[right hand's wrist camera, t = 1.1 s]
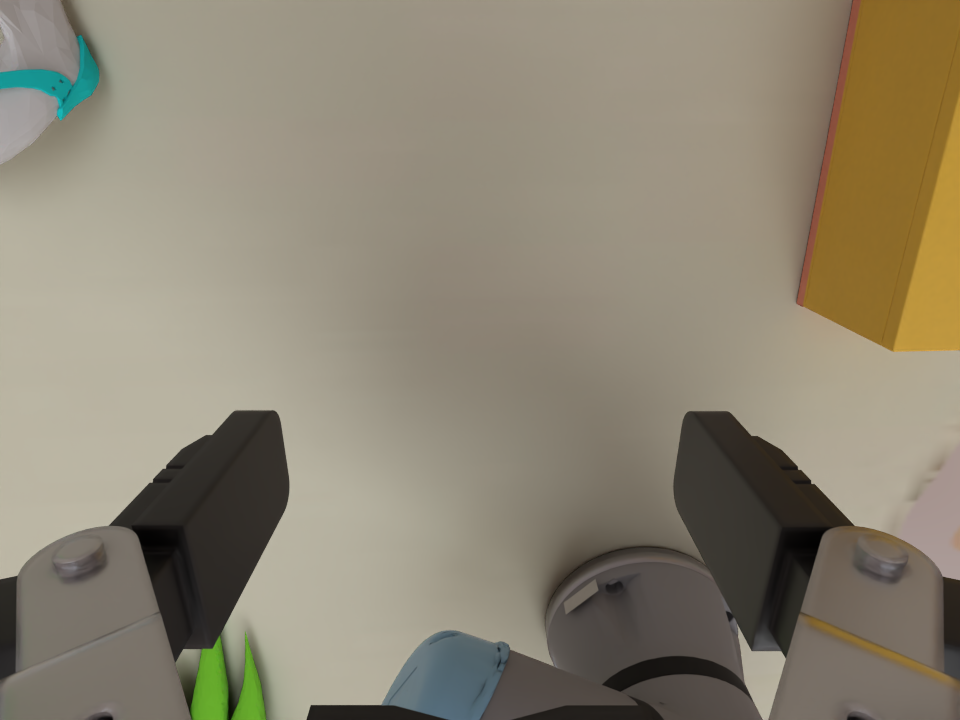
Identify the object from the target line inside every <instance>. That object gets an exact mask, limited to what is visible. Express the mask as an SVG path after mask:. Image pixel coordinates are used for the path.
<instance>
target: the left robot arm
mask: <svg viewBox="0 0 960 720" xmlns="http://www.w3.org/2000/svg"><path fill="white" fill-rule="evenodd" d="M545 627H546V636H547V643H548V649H549V654H550V657H551V659H552V662H553V664H554V666H555V667H554V666H551V665H549V664H546V663H543V662H541V661H538V660H536V659H533V658H530V657H528V656H525V655H523V654H520V653H517V652H515V651H512V650H510V647H509V645H508V644H507V643H505V642H497V643H492V642H489V641H486V640H483V639H480V638H477V637H474V636H471V635H468V634H465V633H462V632H459V631H453V630H447V631H441V632H438V633H436V634H434V635H432V636H430V637H429V638H427V639H426V640H425V641H424V642H423V643H422V644H420V646H419V647H418V648H417V649H416V650H415V651H414V652H413V653H412V655H411V656H410V657H409V659H408V660H407V662H406V663H405V665H404V666H403V668H402V669H401V671H400V672H399V674H398V676H397V677H396V679H395V681H394V682H393V684H392V686H391V688H390V690H389V691H388V693H387V695H386V697H385V699H384V701H383V703H382V705H395V706H399V707H402V708H406V709H410V710H414V711H418V712H421V713H425V714H429V715H433V716H437V717H440V718H444V719H448V720H512V719H516V718H520V717H523V716H527V715H531V714H535V713H539V712H542V711H546V710H550V709H554V708H558V707H561V706H565V705H649V707H650V710H651V713H652V717H653V720H762V718H761V716H760V714H759V712H758V710H757V708H756V706H755V704H754V702H753V700H752V698H751V696H750V694H749V691H748V689H747V687H746V685H745V683H744V675H743V667H742V659H741V651H740V644H739V639H738V628H737V622H736V620H735V618H734V616H733V615H732V613H731V611H730V609H729V607H728V605H727V603H726V601H725V599H724V598H723V596H722V594H721V592H720V590H719V588H718V586H717V584H716V582H715V580H714V579H713V577H712V575H711V573H710V571H709V569H708V568H707V567H706V566H705V565H703V564H702V563H701V562H699V561H697V560H696V559H694V558H692V557H690V556H687V555H685V554H682V553H679V552H676V551H672V550H668V549H662V548H651V547H640V548H629V549H623V550H619V551H615V552H611V553H608V554H605V555H602V556H600V557H597V558H595V559H593V560H591V561H589V562H587V563H585V564H584V565H582V566H581V567H579V568H578V569H576V570H575V571H574V572H573V573H571V574H570V575H569V576H568V577H567V578H566V579H565V580H564V581H563V582H562V583H561V584H560V586H559V587H558V589H557V590H556V591H555V593H554V595H553V596H552V598H551V601H550V603H549V606H548V609H547V613H546V621H545Z"/></svg>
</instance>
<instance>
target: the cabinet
mask: <svg viewBox="0 0 960 720" xmlns="http://www.w3.org/2000/svg"><path fill="white" fill-rule="evenodd" d="M797 304H798V305H800V306H802V307H806V308H808V309H810V310H812V311H814V312H816V313H818V314H820V315H822V316H823V317H825V318H827V319H829V320H831V321H833V322H835V323H837V324H839V325H841V326H843V327H845V328H847V329H849V330H851V331H853V332H855V333H857V334H859V335H861V336H863V337H865V338H867V339H869V340H871V341H873V342H875V343H877V344H879V345H882V346H883V347H885V348H887V349H889V350H891V351H893V352H899V351H945V350H960V0H853V4H852V9H851V14H850V20H849V25H848V30H847V36H846V41H845V47H844V52H843V57H842V63H841V68H840V73H839V79H838V84H837V89H836V95H835V100H834V105H833V111H832V116H831V122H830V127H829V132H828V138H827V143H826V148H825V154H824V159H823V164H822V170H821V175H820V180H819V186H818V191H817V197H816V202H815V207H814V213H813V218H812V223H811V229H810V234H809V239H808V245H807V250H806V255H805V261H804V266H803V272H802V277H801V282H800V288H799V293H798V298H797Z"/></svg>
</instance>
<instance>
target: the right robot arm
mask: <svg viewBox="0 0 960 720" xmlns="http://www.w3.org/2000/svg"><path fill="white" fill-rule="evenodd" d="M288 497H289V475H288V468H287V461H286V455H285V448H284V441H283V434H282V428H281V422H280V418H279V415H278V414H277V412H276V411H234V412H233V413H232V414H231V415H230V416H229V417H228V418H227V419H226V420H225V421H224V422H223V424H222V425H221V426H220V427H219V428H218V429H217V430H216V431H215V433H214V434H213V435H205V436H204V437H202V438H200V439H199V440H197V441H195V442H193V443H192V444H190V445H188V446H186V447H185V448H183V449H182V450H181V451H180V452H179V453H178V454H177V455H176V456H175V457H174V458H173V459H172V460H171V461H170V462H169V463H168V464H167V465H166V469H162V470H161V472H160V473H159V474H158V475H157V476H156V477H155V478H154V479H153V483H149V484H148V485H147V486H146V487H145V488H144V489H143V490H142V491H141V493H140V494H139V495H138V496H137V497H136V498H135V499H134V500H133V501H132V502H131V503H130V504H129V505H128V506H127V507H126V508H125V509H124V510H123V511H122V512H121V513H120V515H119V516H118V517H117V518H116V519H115V520H114V521H113V522H112V523H111V524H110V525H109V526H102V527H95V528H90V529H86V530H83V531H79V532H76V533H73V534H71V535H68V536H66V537H63V538H61V539H59V540H57V541H55V542H53V543H51V544H49V545H48V546H46V547H45V548H43V549H42V550H40V551H39V552H37V553H36V554H35V555H34V556H32V557H31V558H30V559H29V560H28V561H27V562H26V563H25V565H24V566H23V567H22V569H21V570H20V572H19V574H18V576H15V577H10V578H5V579H0V720H191V716H190V713H189V709H188V706H187V702H186V699H185V695H184V692H183V689H182V685H181V682H180V678H179V675H178V671H177V668H176V665H175V662H176V660H177V659H178V657H179V655H180V654H181V652H182V650H183V649H213V647H214V645H215V643H216V641H217V640H218V638H219V636H220V634H221V632H222V630H223V628H224V626H225V624H226V622H227V620H228V618H229V617H230V615H231V613H232V611H233V609H234V607H235V605H236V603H237V601H238V599H239V597H240V596H241V594H242V592H243V590H244V588H245V586H246V584H247V582H248V580H249V578H250V576H251V574H252V573H253V571H254V569H255V567H256V565H257V563H258V561H259V559H260V557H261V555H262V553H263V551H264V550H265V548H266V546H267V544H268V542H269V540H270V538H271V536H272V534H273V532H274V530H275V528H276V527H277V525H278V523H279V521H280V519H281V517H282V515H283V513H284V511H285V509H286V506H287V502H288ZM674 498H675V503H676V507H677V510H678V512H679V514H680V516H681V518H682V520H683V522H684V524H685V526H686V527H687V529H688V531H689V533H690V535H691V537H692V539H693V541H694V543H695V545H696V546H697V548H698V550H699V552H700V554H701V556H702V558H703V560H704V562H705V563H706V565H707V567H708V569H709V571H710V573H711V575H712V577H713V579H714V580H715V582H716V584H717V586H718V588H719V590H720V592H721V594H722V596H723V598H724V599H725V601H726V603H727V605H728V607H729V609H730V611H731V613H732V615H733V616H734V618H735V620H736V622H737V624H738V626H739V628H740V630H741V632H742V633H743V635H744V637H745V639H746V641H747V643H748V645H749V647H750V649H751V650H752V651H782V653H783V654H784V656H785V658H786V661H785V665H784V668H783V671H782V675H781V678H780V682H779V685H778V689H777V692H776V695H775V699H774V702H773V706H772V709H771V713H770V716H769V720H960V580H956V579H951V578H946V577H942V574H941V572H940V570H939V569H938V567H937V566H936V565H935V563H934V562H933V561H932V560H931V559H930V558H929V557H928V556H926V555H925V554H924V553H923V552H921V551H920V550H918V549H917V548H915V547H914V546H912V545H910V544H909V543H907V542H905V541H903V540H901V539H899V538H897V537H894V536H892V535H889V534H887V533H884V532H881V531H877V530H874V529H870V528H865V527H858V526H854V525H853V524H852V523H851V522H850V520H849V519H848V518H847V517H846V516H845V515H844V514H843V513H842V512H841V511H840V510H839V509H838V508H837V507H836V506H835V505H834V504H833V503H832V502H831V501H830V500H829V499H828V498H827V497H826V496H825V494H824V493H823V492H822V491H821V490H820V489H819V488H818V487H817V486H816V485H815V484H811V480H810V479H809V478H808V477H807V476H806V475H805V474H804V473H803V472H802V471H801V470H798V466H797V465H796V464H795V463H794V462H793V461H792V460H791V459H790V458H789V457H788V456H787V455H786V454H785V453H784V452H783V451H782V450H781V449H779V448H777V447H775V446H774V445H772V444H770V443H768V442H767V441H765V440H763V439H762V438H760V437H758V436H751V435H750V434H749V433H748V432H747V431H746V429H745V428H744V427H743V426H742V425H741V424H740V423H739V422H738V421H737V420H736V418H735V417H734V416H733V415H732V414H731V413H730V412H727V411H689V412H687V413H686V415H685V417H684V419H683V423H682V429H681V435H680V442H679V449H678V455H677V462H676V469H675V475H674ZM307 720H448V719H444V718H440V717H437V716H433V715H429V714H425V713H421V712H418V711H414V710H410V709H406V708H402V707H399V706H395V705H311V707H310V710H309V713H308V717H307ZM512 720H653V717H652V713H651V710H650V707H649V705H565V706H561V707H558V708H554V709H550V710H546V711H542V712H539V713H535V714H531V715H527V716H523V717H520V718H516V719H512Z"/></svg>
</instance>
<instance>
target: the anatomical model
mask: <svg viewBox="0 0 960 720" xmlns="http://www.w3.org/2000/svg"><path fill="white" fill-rule="evenodd" d="M0 27H1V30H2V33H3V36H4V41H3V42H2V44H1V46H0V165H1V164H3V163H5V162H6V161H8V160H10V159H12V158H13V157H15V156H16V155H17V154H19V153H20V152H21V151H23V150H24V149H25V148H27V147H28V146H30V145H31V144H32V143H34V141H35V140H36V139H37V138H38V137H39V136H40V135H41V134H42V132H43V131H44V130H45V129H46V128H47V127H48V126H49V124H50V123H51V122H52V121H53V120H54V119H55V118H56V117H57V116H58V118H59V119H60V120H62V119H63V118H64V117H65V116H66V115H67V114H68V113H69V112H70V111H71V110H72V109H73V108H74V107H75V106H76V105H78V104H79V103H80V102H82V101H83V100H84V99H86V98H88V97H89V96H91V95H92V93H93V92H94V90H95V88H96V87H97V84H98V82H99V69H98V67H97V65H96V63H95V61H94V59H93V58H92V56H91V54H90V52H89V50H88V47H87V45H86V43H85V41H84V39H83V37H82V36H81V35H80V36H77V37H76V35H75V33H74V31H73V29H72V27H71V25H70V23H69V21H68V18H67V16H66V13H65V11H64V8H63V6H62V3H61V0H0Z"/></svg>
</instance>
